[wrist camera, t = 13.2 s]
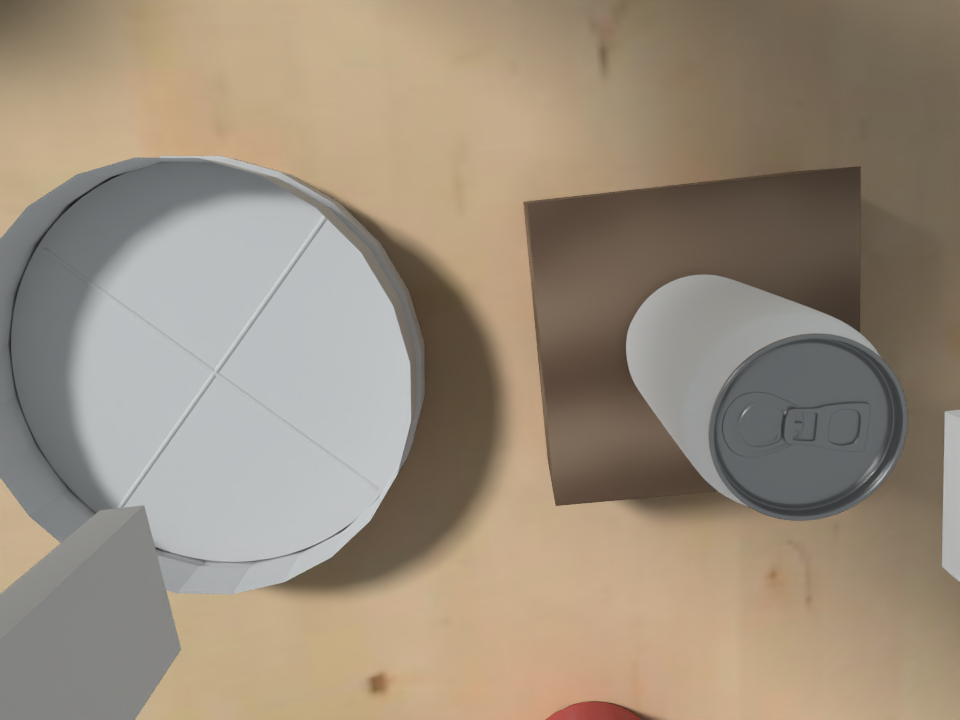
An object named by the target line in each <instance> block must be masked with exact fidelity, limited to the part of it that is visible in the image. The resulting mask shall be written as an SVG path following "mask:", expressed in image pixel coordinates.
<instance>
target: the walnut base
mask: <svg viewBox="0 0 960 720" xmlns="http://www.w3.org/2000/svg"><path fill="white" fill-rule="evenodd" d="M524 211H525V222H526V232H527V243H528V254H529V264H530V275H531V286H532V296H533V307H534V318H535V328H536V339H537V350H538V360H539V371H540V382H541V392H542V403H543V414H544V424H545V435H546V446H547V456H548V464H549V470H550V475H551V481H552V487H553V492H554V498H555V504H556V506H559V505H570V504H581V503H592V502H604V501H615V500H626V499H637V498H648V497H660V496H671V495H682V494H693V493H704V492H716V491H717V490H716V489H715V488H714V487H712V486H711V485H710V484H709V483H708V482H707V481H706V480H705V479H704V478H703V477H702V476H701V475H700V474H699V472H698V471H697V470H696V469H695V468H694V466H693V465H692V464H691V462H690V461H689V460H688V458H687V457H686V456H685V454H684V453H683V452H682V450H681V449H680V448H679V446H678V445H677V443H676V442H675V441H674V439H673V438H672V437H671V435H670V434H669V432H668V431H667V430H666V428H665V427H664V426H663V424H662V423H661V421H660V420H659V419H658V417H657V416H656V414H655V413H654V412H653V410H652V409H651V407H650V406H649V405H648V403H647V402H646V400H645V399H644V398H643V396H642V395H641V393H640V392H639V390H638V389H637V387H636V385H635V383H634V382H633V379H632V377H631V374H630V371H629V368H628V363H627V356H626V339H627V333H628V329H629V326H630V324H631V322H632V320H633V318H634V316H635V314H636V313H637V311H638V309H639V308H640V307H641V305H642V304H643V303H644V302H645V301H646V299H647V298H648V297H649V296H650V295H652V294H653V293H654V292H655V291H656V290H658V289H659V288H661V287H662V286H664V285H666V284H668V283H670V282H672V281H674V280H677V279H679V278H683V277H686V276H692V275H716V276H721V277H725V278H729V279H732V280H735V281H738V282H741V283H744V284H747V285H749V286H752V287H755V288H758V289H761V290H763V291H766V292H769V293H772V294H774V295H777V296H780V297H783V298H785V299H788V300H791V301H793V302H796V303H799V304H801V305H804V306H807V307H810V308H812V309H815V310H817V311H820V312H822V313H825V314H827V315H830V316H832V317H834V318H836V319H838V320H841V321H842V322H844V323H846V324H848V325H849V326H851V327H852V328H854V329H855V330H857V331H858V332H859V333H860V167H849V168H836V169H822V170H809V171H798V172H789V173H780V174H771V175H762V176H753V177H744V178H735V179H726V180H717V181H708V182H699V183H690V184H681V185H672V186H663V187H654V188H645V189H636V190H627V191H618V192H609V193H600V194H591V195H582V196H573V197H564V198H555V199H546V200H537V201H528V202H524Z"/></svg>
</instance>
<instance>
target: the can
mask: <svg viewBox="0 0 960 720" xmlns="http://www.w3.org/2000/svg"><path fill="white" fill-rule="evenodd" d="M626 356H627V363H628V368H629V371H630V374H631V377H632V379H633V382H634V383H635V385H636V387H637V389H638V390H639V392H640V393H641V395H642V396H643V398H644V399H645V400H646V402H647V403H648V405H649V406H650V407H651V409H652V410H653V412H654V413H655V414H656V416H657V417H658V419H659V420H660V421H661V423H662V424H663V426H664V427H665V428H666V430H667V431H668V432H669V434H670V435H671V437H672V438H673V439H674V441H675V442H676V443H677V445H678V446H679V448H680V449H681V450H682V452H683V453H684V454H685V456H686V457H687V458H688V460H689V461H690V462H691V464H692V465H693V466H694V468H695V469H696V470H697V471H698V472H699V474H700V475H701V476H702V477H703V478H704V479H705V480H706V481H707V482H708V483H709V484H710V485H711V486H712V487H714V488H715V489H716V490H717V491H718V492H720V493H721V494H723V495H724V496H726V497H727V498H729V499H731V500H733V501H735V502H737V503H740V504H742V505H745V506H748V507H750V508H752V509H754V510H756V511H758V512H760V513H762V514H765V515H768V516H771V517H774V518H779V519H784V520H794V521H804V520H815V519H821V518H825V517H829V516H832V515H835V514H838V513H841V512H843V511H845V510H847V509H849V508H851V507H853V506H855V505H857V504H858V503H860V502H861V501H863V500H864V499H866V498H867V497H868V496H869V495H871V494H872V493H873V492H874V491H875V490H876V489H877V488H878V487H879V486H880V485H881V484H882V483H883V482H884V480H885V479H886V478H887V477H888V475H889V474H890V473H891V471H892V469H893V468H894V466H895V464H896V463H897V461H898V459H899V456H900V454H901V452H902V449H903V446H904V442H905V438H906V433H907V423H908V415H907V405H906V400H905V396H904V393H903V390H902V387H901V385H900V383H899V381H898V379H897V377H896V375H895V374H894V372H893V371H892V369H891V368H890V367H889V366H888V364H887V363H886V362H885V361H884V360H883V359H882V358H881V356H880V355H879V353H878V352H877V350H876V349H875V348H874V347H873V345H872V344H871V343H870V342H869V341H868V340H867V339H866V338H865V337H864V336H863V335H862V334H860V333H859V332H858V331H857V330H855V329H854V328H852V327H851V326H849V325H848V324H846V323H844V322H842V321H841V320H838V319H836V318H834V317H832V316H830V315H827V314H825V313H822V312H820V311H817V310H815V309H812V308H810V307H807V306H804V305H801V304H799V303H796V302H793V301H791V300H788V299H785V298H783V297H780V296H777V295H774V294H772V293H769V292H766V291H763V290H761V289H758V288H755V287H752V286H749V285H747V284H744V283H741V282H738V281H735V280H732V279H729V278H725V277H721V276H716V275H692V276H686V277H683V278H679V279H677V280H674V281H672V282H670V283H668V284H666V285H664V286H662V287H661V288H659V289H658V290H656V291H655V292H654V293H653V294H652V295H650V296H649V297H648V298H647V299H646V301H645V302H644V303H643V304H642V305H641V307H640V308H639V309H638V311H637V313H636V314H635V316H634V318H633V320H632V322H631V324H630V326H629V329H628V333H627V339H626Z"/></svg>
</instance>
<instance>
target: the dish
mask: <svg viewBox="0 0 960 720" xmlns="http://www.w3.org/2000/svg"><path fill="white" fill-rule="evenodd" d="M424 398H425V345H424V340H423V337H422V333H421V330H420V326H419V323H418V320H417V316H416V313H415V309H414V306H413V302H412V299H411V296H410V292H409V290H408V289H407V287H406V285H405V283H404V282H403V280H402V278H401V277H400V275H399V273H398V272H397V270H396V268H395V267H394V265H393V263H392V262H391V260H390V258H389V257H388V255H387V253H386V252H385V250H384V248H383V247H382V245H381V243H380V242H379V241H378V240H377V239H376V238H375V237H374V236H373V235H372V234H371V233H370V232H369V231H368V230H367V229H366V228H365V227H364V226H363V225H362V224H361V223H360V222H359V221H358V220H357V219H356V218H355V217H354V216H353V215H352V214H351V213H350V212H349V211H348V210H347V209H346V208H345V207H344V206H343V205H342V204H341V203H339V202H337V201H336V200H334V199H332V198H330V197H329V196H327V195H325V194H323V193H322V192H320V191H318V190H317V189H315V188H313V187H311V186H310V185H308V184H306V183H304V182H303V181H301V180H299V179H298V178H296V177H294V176H292V175H291V174H287V173H284V172H280V171H277V170H273V169H269V168H266V167H262V166H258V165H255V164H251V163H248V162H244V161H240V160H237V159H231V158H227V157H223V156H161V157H158V158H132V159H129V160H125V161H122V162H118V163H115V164H112V165H108V166H105V167H101V168H98V169H95V170H91V171H88V172H84V173H81V174H77V175H76V176H74V177H73V178H71V179H69V180H68V181H66V182H65V183H63V184H62V185H60V186H59V187H57V188H56V189H54V190H53V191H51V192H49V193H48V194H46V195H45V196H43V197H42V198H40V199H39V200H37V201H36V202H34V203H32V204H31V205H29V206H28V207H27V208H26V209H25V210H24V212H23V213H22V214H21V215H20V216H19V218H18V219H17V220H16V221H15V222H14V223H13V225H12V226H11V227H10V228H9V229H8V231H7V232H6V233H5V234H4V235H3V237H2V238H1V239H0V478H1V479H2V480H3V482H4V483H5V484H6V486H7V487H8V488H9V490H10V491H11V492H12V494H13V495H14V496H15V498H16V499H17V500H18V502H19V503H20V504H21V506H22V507H23V508H24V510H25V511H26V513H27V514H28V515H29V516H30V517H31V518H32V519H33V520H34V521H36V522H37V523H38V524H39V525H40V526H42V527H43V528H44V529H45V530H46V531H47V532H49V533H50V534H51V535H52V536H53V537H54V538H56V539H57V540H58V541H59V542H60V543H62V542H63V541H64V540H65V539H66V538H68V537H69V536H70V535H71V534H72V533H74V532H75V531H76V530H77V529H78V528H80V527H81V526H82V525H83V524H84V523H85V522H87V521H88V520H89V519H90V518H91V517H93V516H94V515H95V514H96V513H97V512H99V511H100V510H108V509H116V508H125V507H134V506H142V505H144V506H145V510H146V514H147V518H148V522H149V526H150V530H151V534H152V537H153V541H154V545H155V549H156V553H157V557H158V561H159V565H160V569H161V573H162V577H163V580H164V584H165V588H166V590H167V591H171V592H175V593H191V594H236V593H240V592H245V591H249V590H253V589H257V588H262V587H266V586H270V585H274V584H279V583H283V582H286V581H288V580H290V579H291V578H293V577H295V576H297V575H299V574H301V573H303V572H305V571H307V570H308V569H310V568H312V567H314V566H316V565H318V564H320V563H322V562H324V561H325V560H327V559H329V558H331V557H332V556H333V555H334V554H336V553H337V552H338V551H339V550H340V549H341V548H342V547H343V546H344V545H345V544H346V543H347V542H348V541H349V540H350V539H352V538H353V537H354V536H355V535H356V534H357V533H358V532H359V531H360V530H361V529H362V528H363V527H364V526H365V525H366V524H367V523H369V522H370V520H371V519H372V517H373V515H374V514H375V512H376V510H377V508H378V507H379V505H380V503H381V502H382V500H383V498H384V496H385V495H386V493H387V491H388V490H389V488H390V486H391V485H392V483H393V481H394V479H395V478H396V476H397V474H398V473H399V471H400V469H401V467H402V466H403V464H404V462H405V461H406V459H407V457H408V455H409V452H410V449H411V447H412V444H413V440H414V436H415V432H416V428H417V425H418V421H419V417H420V413H421V409H422V406H423V402H424Z"/></svg>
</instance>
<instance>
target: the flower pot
mask: <svg viewBox="0 0 960 720" xmlns="http://www.w3.org/2000/svg"><path fill="white" fill-rule="evenodd" d="M546 720H641V719H640V718H638V717H637V716H636V715H635V714H633V713H632V712H630V711H628V710H626V709H625V708H622V707H620V706H617V705H614V704H610V703H605V702H582V703H577V704H573V705H570V706H568V707H567V708H565V709H563V710H560V711H557V712H556V713H554V714H552V715H551V716H550V717H549V718H547V719H546Z"/></svg>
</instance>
